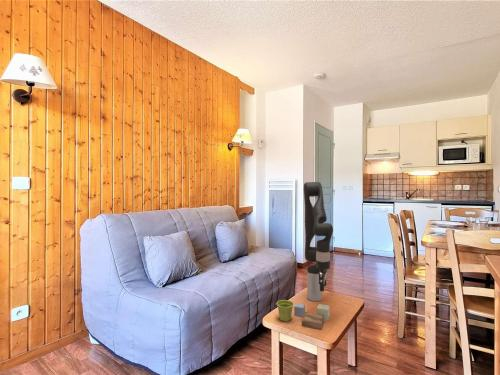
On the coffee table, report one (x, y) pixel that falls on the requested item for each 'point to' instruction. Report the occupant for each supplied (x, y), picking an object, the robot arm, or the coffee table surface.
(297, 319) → the coffee table surface
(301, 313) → the slate block
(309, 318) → the walnut square pad
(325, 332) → the coffee table surface
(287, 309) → the plant pot
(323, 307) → the sage block
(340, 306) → the coffee table surface
